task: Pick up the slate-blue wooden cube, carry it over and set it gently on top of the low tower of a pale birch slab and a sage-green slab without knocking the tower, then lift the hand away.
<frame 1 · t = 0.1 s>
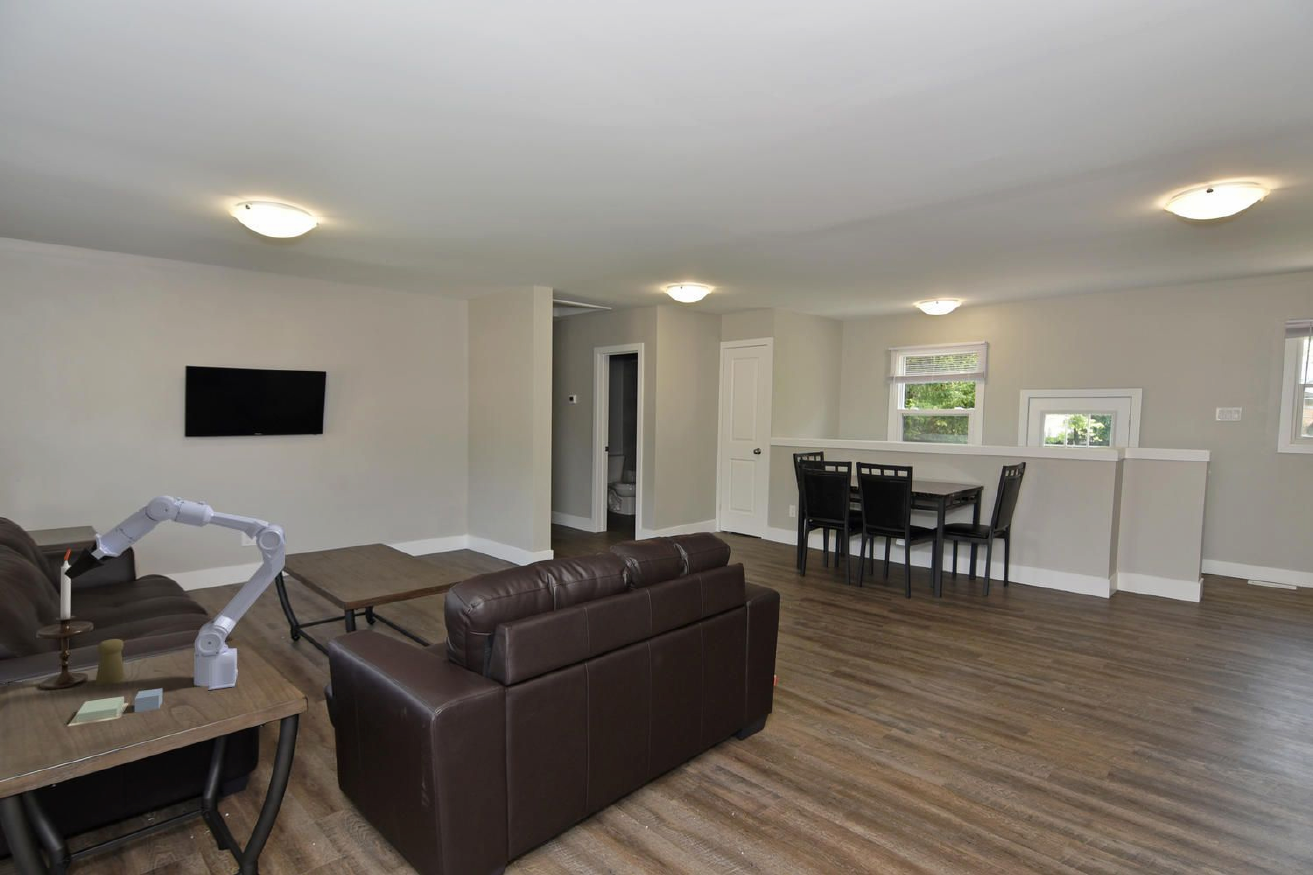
hand: (72, 572, 154), 32 cm above the table, tool tilted 50°, fingers open, 7 cm apart
blue cube: (148, 712, 153), on the table
cork: (110, 682, 169), on the table
green block: (100, 713, 148), point 1 cm above the table, touching birch slab
birch slab: (99, 722, 148), on the table, touching green block
candlestick: (64, 683, 167), on the table
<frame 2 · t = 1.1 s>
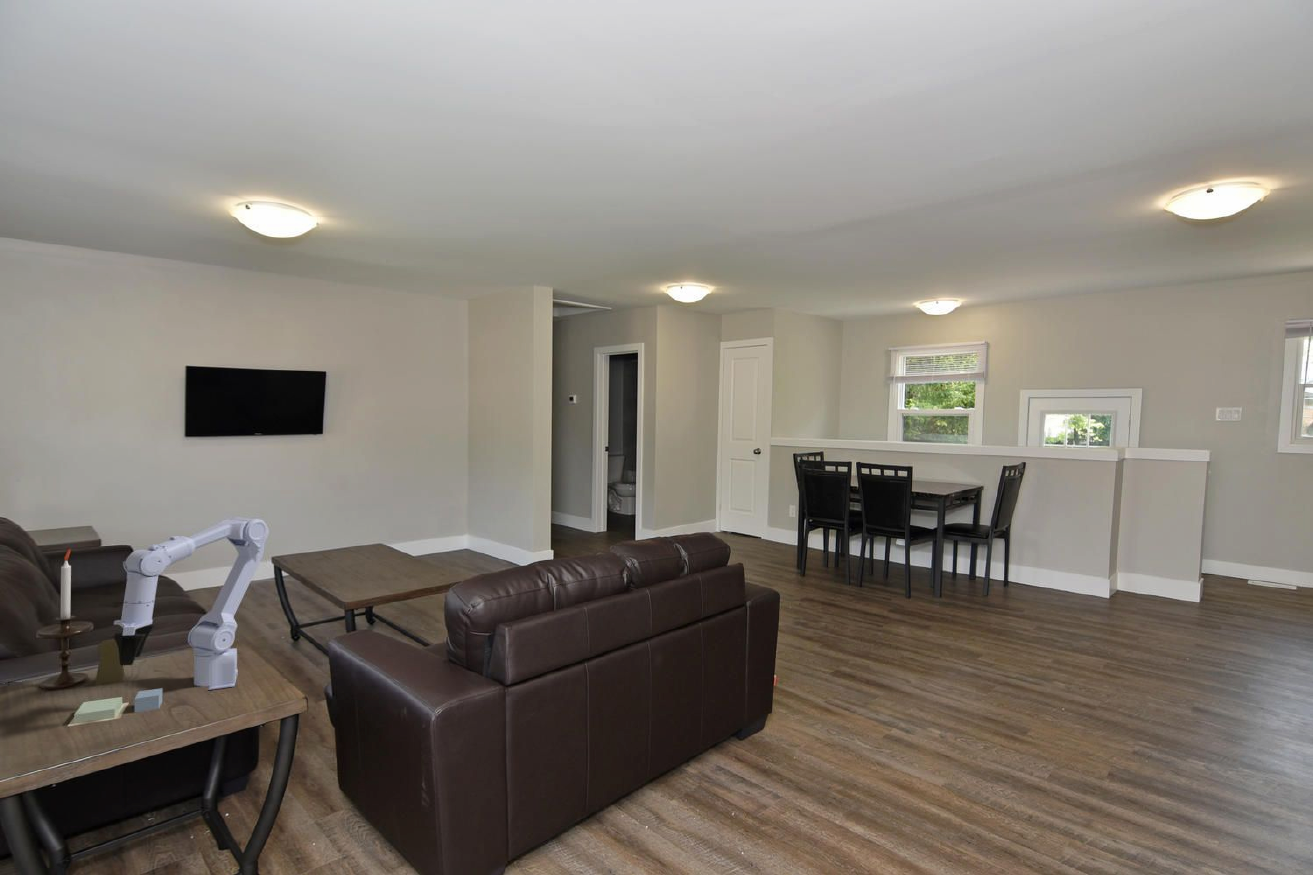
hand: (130, 660, 150), 13 cm above the table, tool pointing down, fingers open, 7 cm apart
green block: (98, 714, 148), point 1 cm above the table
birch slab: (99, 722, 148), on the table
everything else where it was.
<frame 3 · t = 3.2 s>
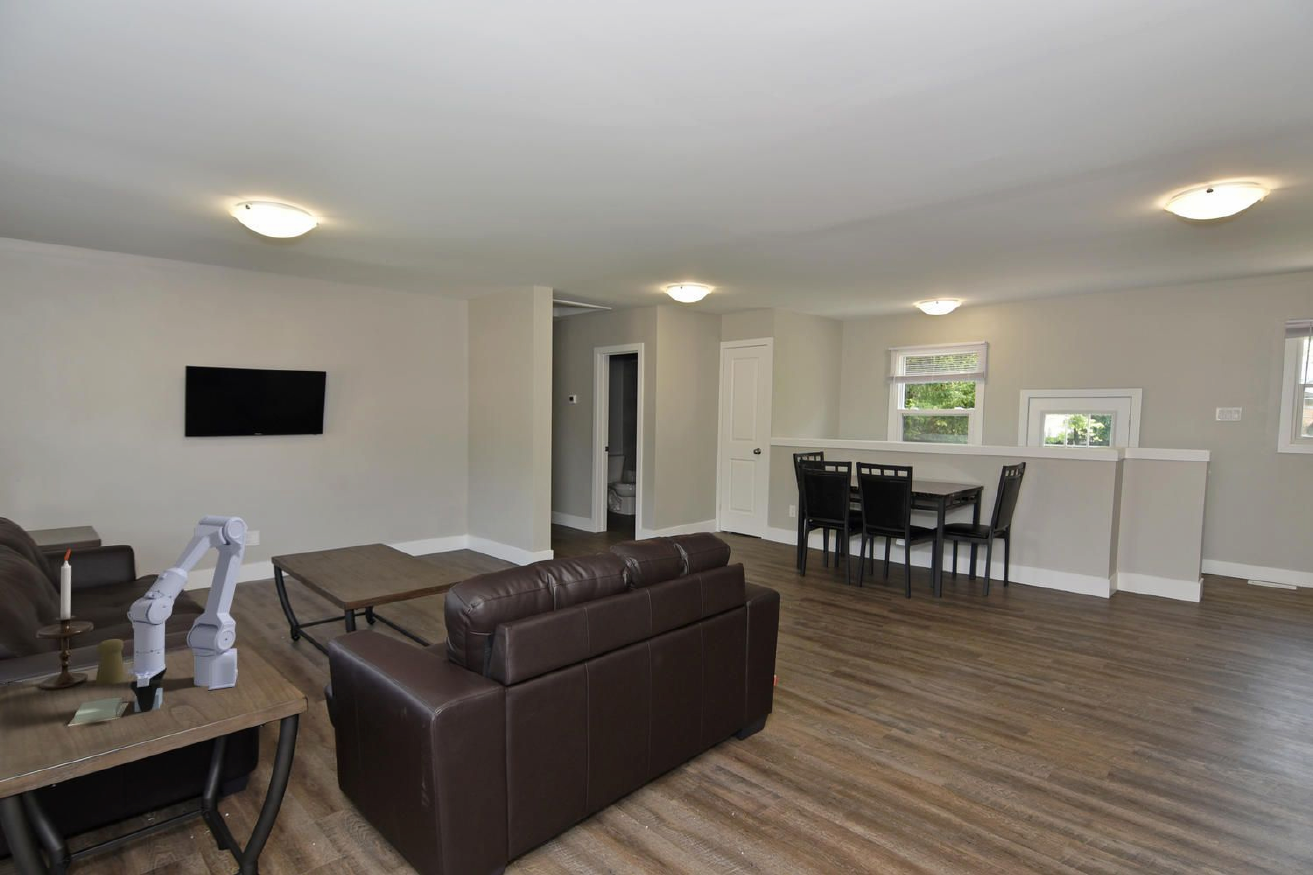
hand: (148, 705, 153), 1 cm above the table, tool pointing down, fingers closed on blue cube, 4 cm apart
blue cube: (148, 711, 153), on the table, touching gripper
everything else where it was.
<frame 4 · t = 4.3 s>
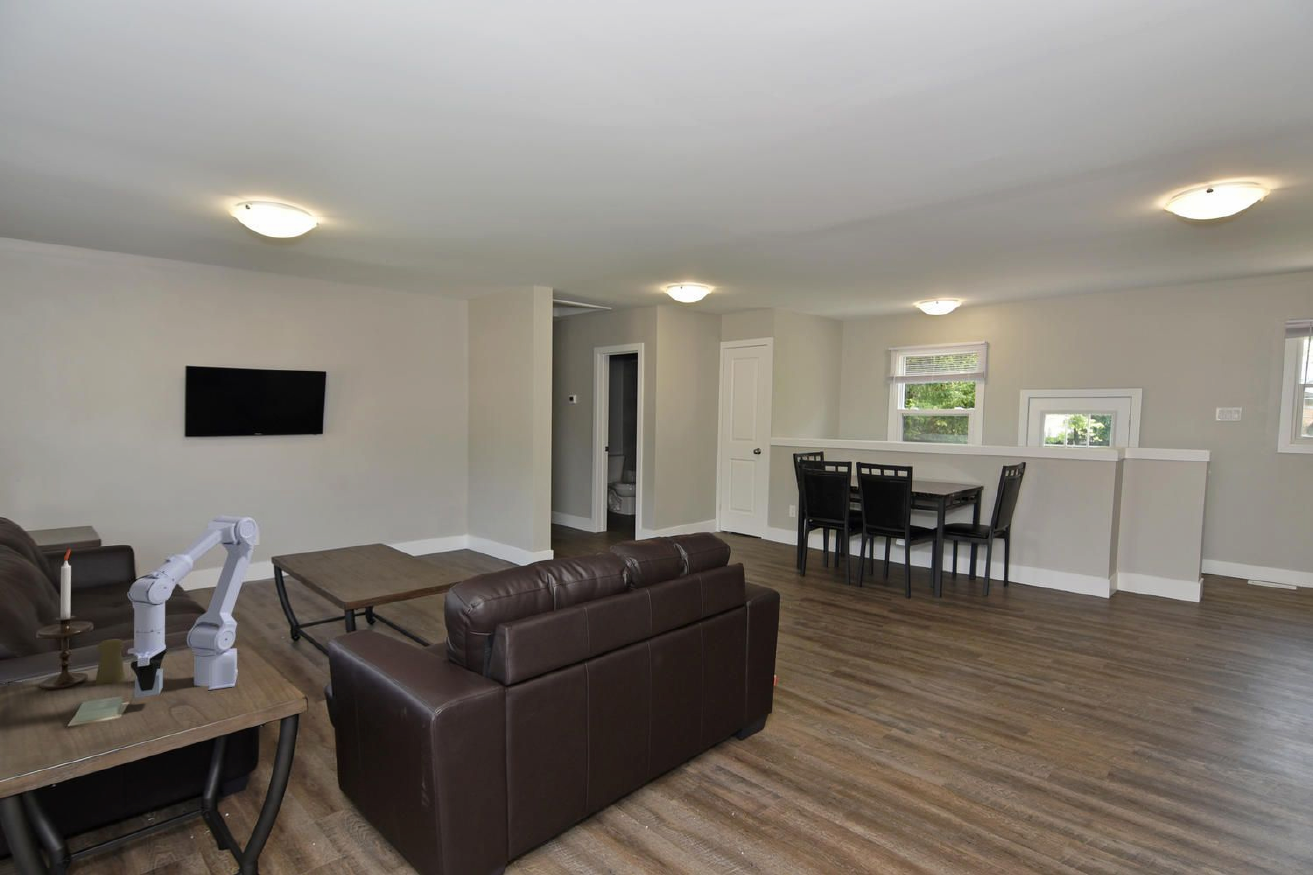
hand: (149, 685, 153), 6 cm above the table, tool pointing down, fingers closed on blue cube, 4 cm apart
blue cube: (149, 692, 153), point 5 cm above the table, touching gripper
green block: (99, 713, 148), point 1 cm above the table, touching birch slab
birch slab: (99, 721, 148), on the table, touching green block
everything else where it was.
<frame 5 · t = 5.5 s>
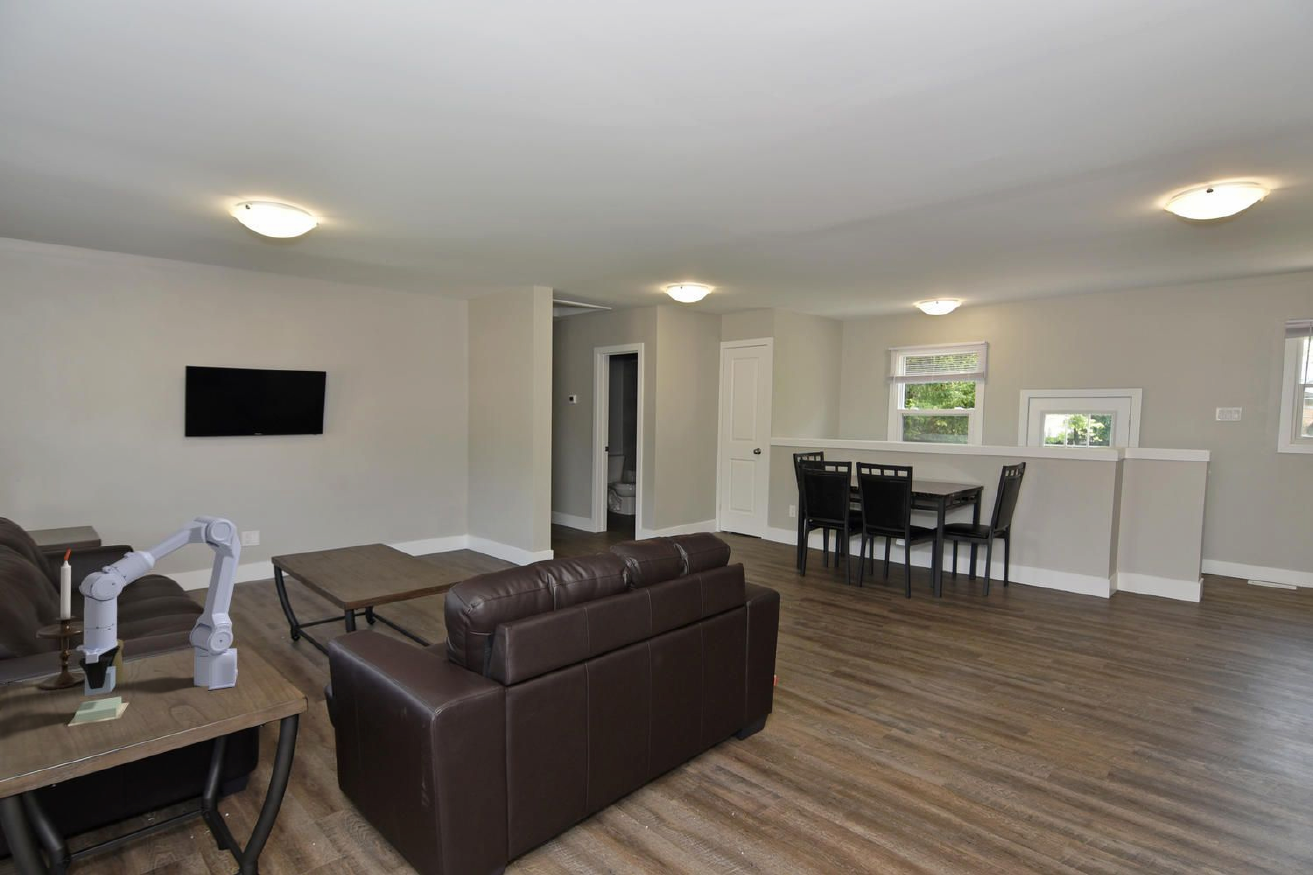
hand: (99, 683, 148), 8 cm above the table, tool pointing down, fingers closed on blue cube, 4 cm apart
blue cube: (100, 690, 148), point 7 cm above the table, touching gripper
everything else where it was.
when the fingers open (6 cm above the table, at t = 7.0 s): blue cube drops 2 cm, resting on green block.
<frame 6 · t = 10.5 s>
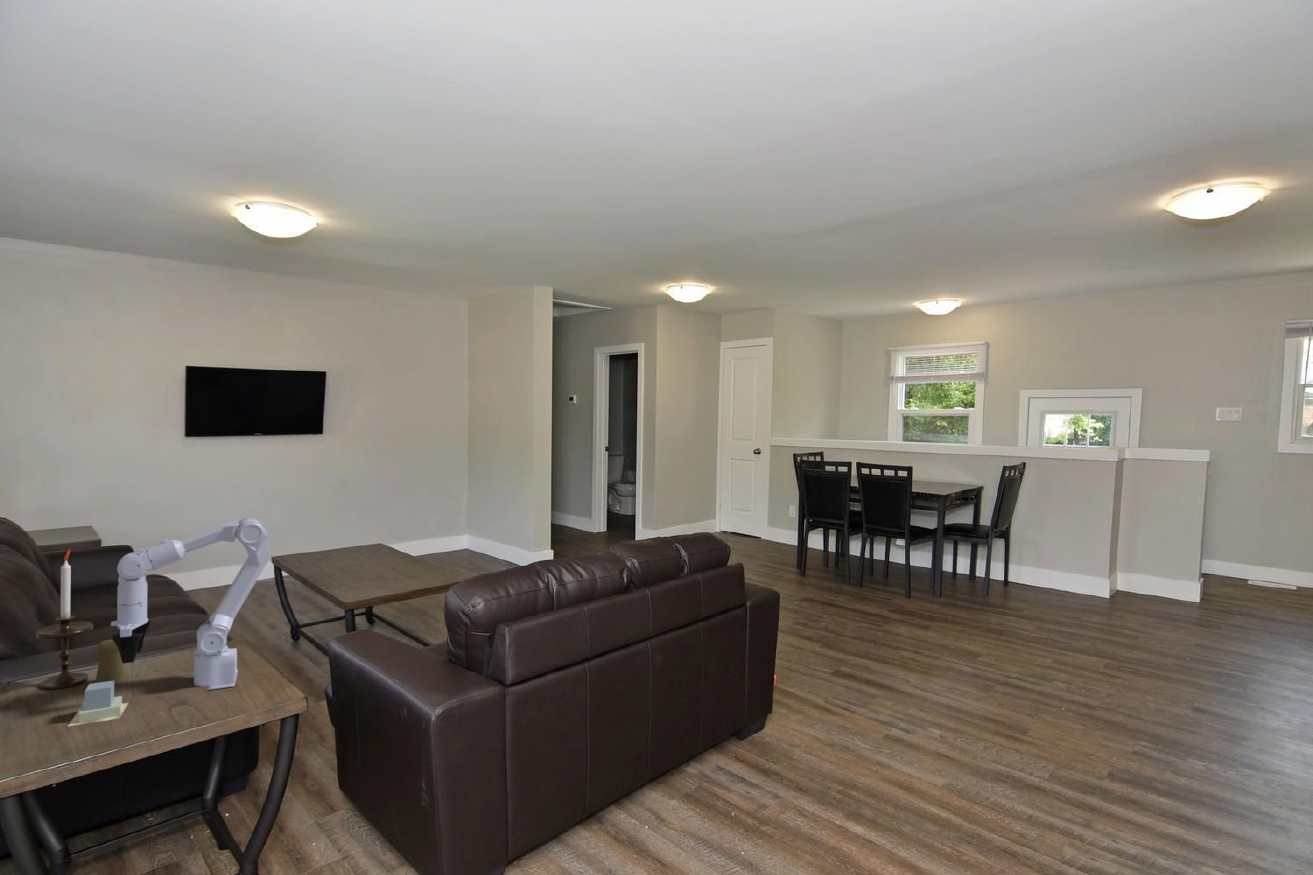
hand: (131, 657, 159), 10 cm above the table, tool pointing down, fingers open, 7 cm apart
blue cube: (99, 704, 148), point 3 cm above the table, touching green block
green block: (101, 713, 149), point 1 cm above the table, touching birch slab, blue cube
everything else where it was.
at the end: blue cube 0.3 cm off-centre on the green block, point 2.1 cm above the green block's base; blue cube tilted 1°; green block moved 1.0 cm from its start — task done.
